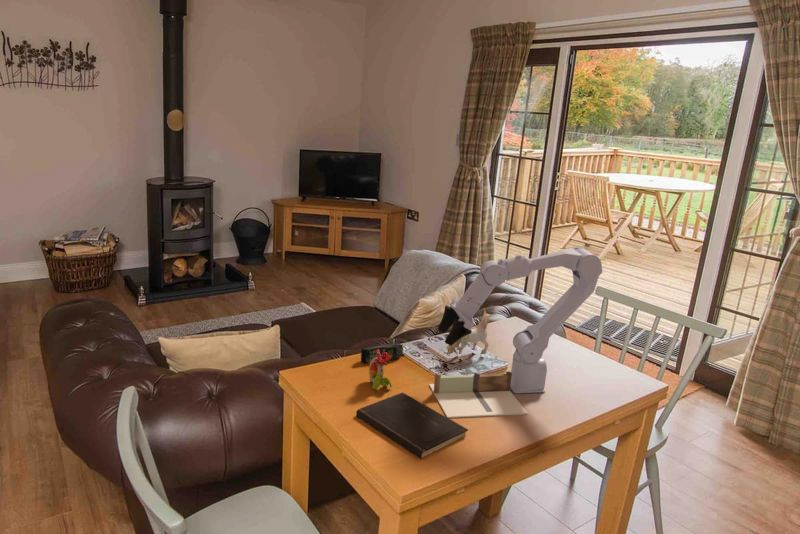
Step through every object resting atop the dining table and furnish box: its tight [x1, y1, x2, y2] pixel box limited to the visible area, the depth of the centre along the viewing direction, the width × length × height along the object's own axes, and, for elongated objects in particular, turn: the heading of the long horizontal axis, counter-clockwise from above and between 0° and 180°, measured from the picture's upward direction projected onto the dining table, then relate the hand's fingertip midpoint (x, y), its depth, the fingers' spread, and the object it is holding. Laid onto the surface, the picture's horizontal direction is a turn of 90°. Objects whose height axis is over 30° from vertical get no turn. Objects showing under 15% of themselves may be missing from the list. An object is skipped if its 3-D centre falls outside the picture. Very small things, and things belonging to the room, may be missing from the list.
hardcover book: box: [355, 392, 469, 459], centre depth 143 cm, size 16×23×2 cm
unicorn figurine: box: [446, 307, 491, 355], centre depth 185 cm, size 7×20×13 cm, turn 138°
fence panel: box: [433, 372, 474, 393], centre depth 160 cm, size 11×2×5 cm, turn 102°
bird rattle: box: [368, 349, 393, 391], centre depth 161 cm, size 6×11×9 cm
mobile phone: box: [360, 342, 405, 364], centre depth 179 cm, size 5×3×15 cm
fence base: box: [472, 371, 512, 392], centre depth 163 cm, size 11×2×5 cm, turn 102°
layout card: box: [428, 383, 529, 419], centre depth 159 cm, size 22×18×1 cm
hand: (444, 337), depth 163 cm, fingers open, 7 cm apart
